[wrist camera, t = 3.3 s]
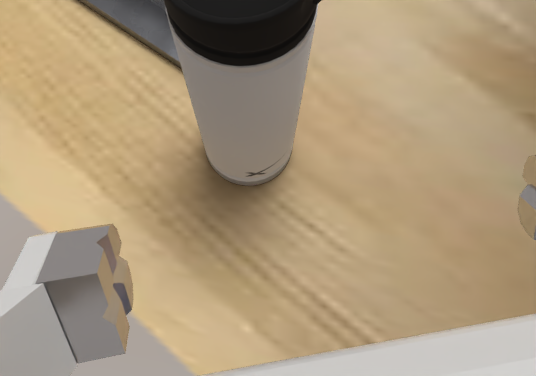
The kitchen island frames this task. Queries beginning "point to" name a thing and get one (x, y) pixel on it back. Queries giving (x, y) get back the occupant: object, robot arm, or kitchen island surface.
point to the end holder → (140, 22)
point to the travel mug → (244, 78)
